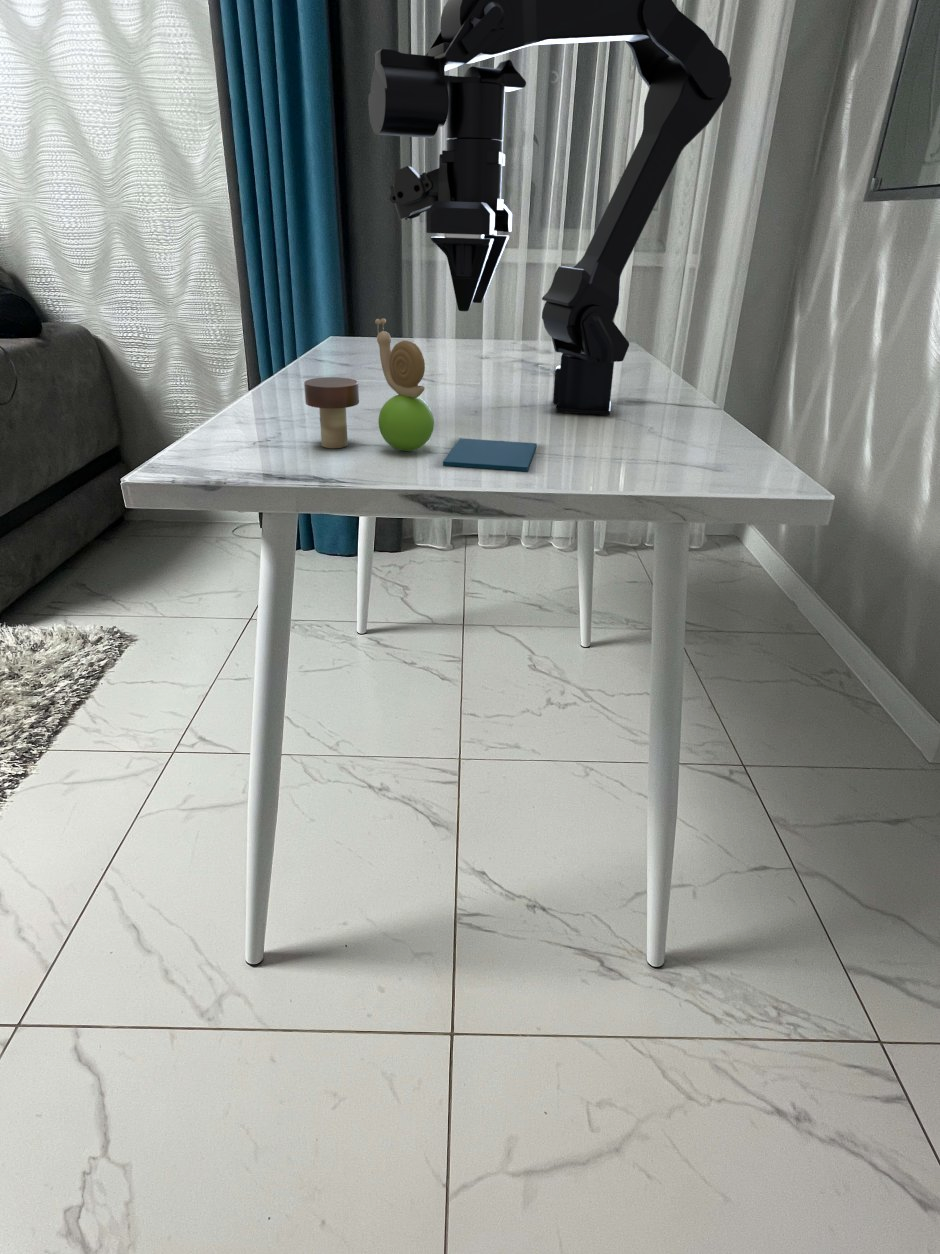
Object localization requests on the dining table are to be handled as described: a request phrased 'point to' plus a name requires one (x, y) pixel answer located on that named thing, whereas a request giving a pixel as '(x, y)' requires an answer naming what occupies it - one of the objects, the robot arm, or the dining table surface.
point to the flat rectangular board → (491, 454)
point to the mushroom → (332, 406)
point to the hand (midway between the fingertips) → (470, 306)
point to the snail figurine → (403, 395)
